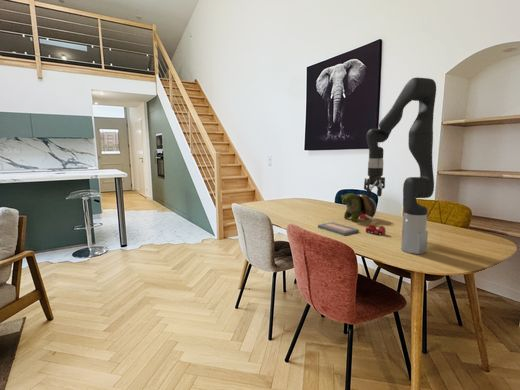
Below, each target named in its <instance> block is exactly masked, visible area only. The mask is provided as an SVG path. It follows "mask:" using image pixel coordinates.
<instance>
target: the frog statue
mask: <svg viewBox="0 0 520 390" xmlns="http://www.w3.org/2000/svg"><path fill="white" fill-rule="evenodd" d="M340 198H341V202H342V203H341V204H342V205H345V206H346V210H345V212H344V215H343V218H344V220H346V219H349V218H350V221H351V222H352V223H353V222H356V221H357V220H358V219H360V215H364V214H367V216H370V217H372V218H374V216H375V215H376V212H377V203H376V202H375V200H374V199H373V198H372V197H371V198H367V194H363V193H359V194H355V193H353V192H352V193H351V192H349V193H345V194H341V195H340ZM366 220H370V219H369V218H367V219H366Z"/></svg>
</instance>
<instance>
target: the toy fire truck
mask: <svg viewBox="0 0 520 390" xmlns="http://www.w3.org/2000/svg"><path fill="white" fill-rule="evenodd" d="M367 218H369V219H367ZM359 219H361V220H371V222H370V223H369V225H368V227H366V228H365V232H366V233H368V234H376V235H378V236H384V235H386V227H385V226H383V225H380V226H379V227H378V228H377V226H375V224H376V223H377V222H378V220H377V218H374V217H373V218H372V217H370V216H367V214H364V215H360V217H359Z"/></svg>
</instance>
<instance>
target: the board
mask: <svg viewBox="0 0 520 390" xmlns="http://www.w3.org/2000/svg"><path fill="white" fill-rule="evenodd" d="M317 228H319V229H322V230H325V231H328V232H331V233H335V234H337V235H340V236H347V235H353V234H356V233H359V232H360V229H359V228H355V227H351V226H348V225H344V224H339V223H337V222H335V221H334V222H331V221H330V222H327V223H322V224H318V225H317Z"/></svg>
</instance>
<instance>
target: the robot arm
mask: <svg viewBox="0 0 520 390" xmlns="http://www.w3.org/2000/svg"><path fill="white" fill-rule="evenodd" d="M436 83H437V82H435V80H434V79H433V78H428V77H413V78H411V79H409V80H408V82H406V84H404V86H403V89H402V90H401V91H400V93H399V95H398V97H397V98H396V100H395V102H394V103H393V105H392V106H391V108H390V109H389V111H388V112H386V114H385V116H384V117H383V118H382V119H381V120H380V122H378V127H379V128H371V129H368V131H367V132H366V135H365V137H366V142H367V146H368V151H369V152H368V162H367V163H368V164H367V176H368V178H364V184H363V185H364V186H363V189H364V190H365V191H366V196H367V198H371V199H372V190H373V189H374V187H376V190H377V191H376V196H377V197H378V198H379V197H382V195H383V194H382V193H383V191H382V190H383V189H385V188H386V177H385V176H384V177H382V176H383V175H384V148H383V147H381V146H379V145H378V143H384V142H386V141H387V140H388V138H389V137H390V135H391V134H392V133H391V132H392V130H394V128H395V127H397V125H398V124H399V123H400V121H401V120H402V118H403V113H404V110H405V107H407V105H408V104H410V103H411V102H412V101H413V102H414V101H415V102H418V112H417V113H418V114H417V116H416V118H415V119H414V121H413V123H412V125H411V127H410V128H409V131H408V149H409V151H410V153H411V155H412V157H413V158H414V160H415V161H416V163H417V165H418V167H419V176H410V177H407V178H406V179H405V180H404V181H403V185H402V187H403V189H402V199H403V200H402V207H403V214H402V217H403V218H402V230H401V246H400V247H401V248H400V249H401V250H402V251H403V252H404V253H405V252H406V253H410V254H415V255H421V254H425V253H427V247H428V236H429V230H427V220H428V208H427V207H426V206H424V205H421V204H419V203H418V202H417V199H427V198H428V199H429V198H431V197H432V196H433V194H434V188H435V179H434V178H435V177H434V166H433V165H434V164H433V148H434V147H433V145H434V144H433V143H434V112H435V103H436V96H437V84H436Z"/></svg>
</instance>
